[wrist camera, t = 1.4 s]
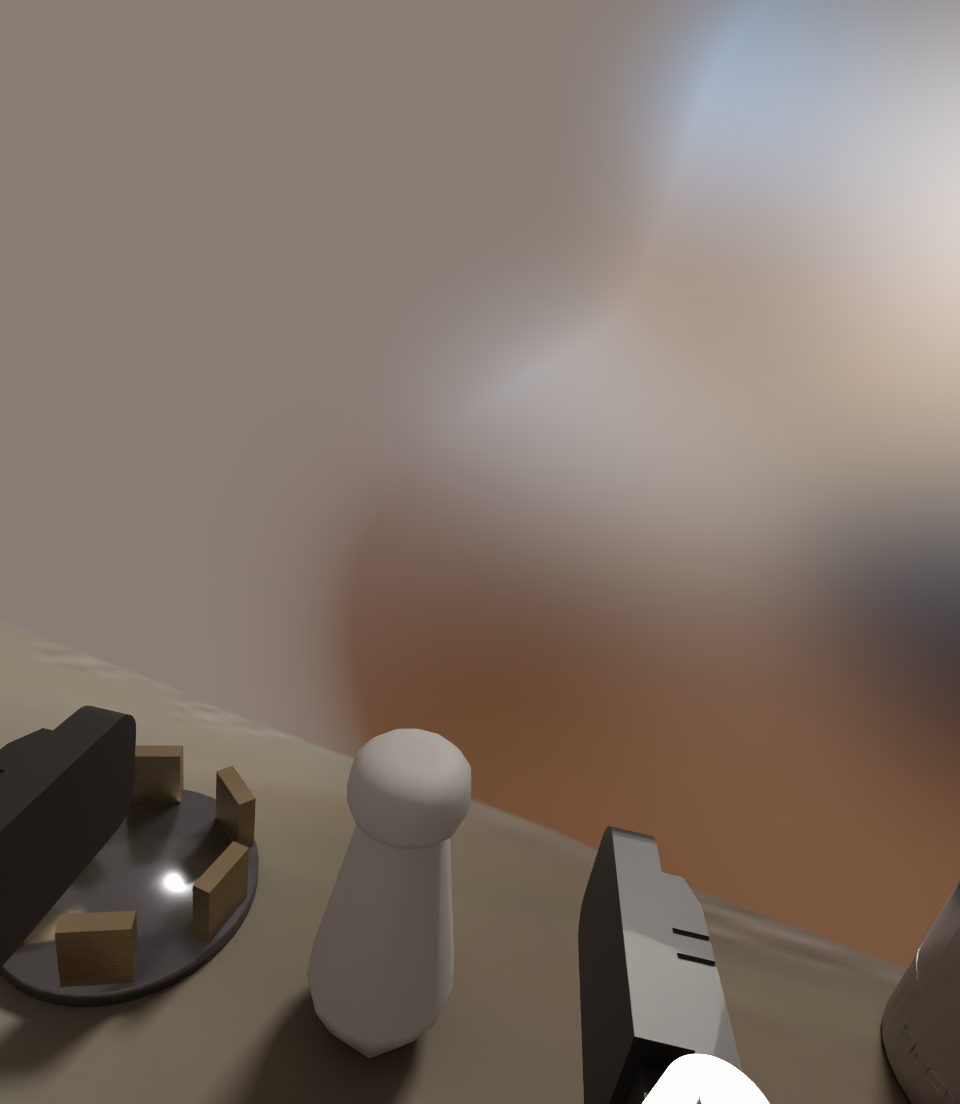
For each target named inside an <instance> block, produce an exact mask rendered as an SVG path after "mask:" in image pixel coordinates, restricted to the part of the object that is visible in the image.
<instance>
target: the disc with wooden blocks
mask: <svg viewBox="0 0 960 1104" xmlns="http://www.w3.org/2000/svg"><path fill="white" fill-rule="evenodd" d="M255 800H256V798H255V797H254V796H253V794H252V793H251V791H250V790H249V788H248V787H247V786H246V784H245V783H244V781H243V780H242V778H241V777H240V776H239V774H238V773H237V771H236V770H235V768H234V767H233V766H230V767H228V768H225V769H222V770H219V771H217V780H216V799H214V798H212V797H209V796H206V795H203V794H200V793H197V792H192V791H188V790H183V746H135V772H134V793H133V798H132V802H131V805H130V808H129V810H128V813H127V815H126V817H125V819H124V821H123V823H122V824H121V826H120V827H119V829H118V830H117V831H116V832H115V834H114V835H113V836H112V837H111V838H110V839H109V841H108V842H107V843H106V844H105V845H104V847H103V848H102V849H101V850H100V851H99V852H98V854H97V855H96V856H95V857H94V858H93V860H92V861H91V862H90V863H89V864H88V866H87V867H86V868H85V869H84V870H83V871H82V873H81V874H80V875H79V876H78V877H77V879H76V880H75V881H74V882H73V883H72V885H71V886H70V887H69V888H68V889H67V890H66V892H65V893H64V894H63V895H62V896H61V898H60V899H59V900H58V901H57V902H56V904H55V905H54V906H53V907H52V908H51V909H50V911H49V912H48V913H47V914H46V915H45V917H44V918H43V919H42V920H41V921H40V922H39V924H38V925H37V926H36V927H35V928H34V930H33V931H32V932H31V933H30V934H29V936H28V937H27V938H26V939H25V940H24V941H23V943H22V944H21V945H20V946H19V947H18V949H17V950H16V951H15V952H14V953H13V955H12V956H11V957H10V958H9V959H8V960H7V962H6V963H5V964H4V965H3V966H2V968H1V969H0V973H1V975H3V976H4V977H5V978H6V979H7V980H8V981H9V982H10V983H11V984H12V985H13V986H15V987H16V988H18V989H19V990H21V991H22V992H24V993H26V994H28V995H30V996H33V997H35V998H37V999H39V1000H43V1001H47V1002H51V1003H55V1004H60V1005H69V1006H101V1005H108V1004H116V1003H121V1002H125V1001H129V1000H133V999H137V998H140V997H143V996H146V995H149V994H151V993H154V992H157V991H159V990H161V989H164V988H166V987H168V986H170V985H172V984H174V983H176V982H178V981H180V980H181V979H183V978H185V977H186V976H188V975H190V974H191V973H193V972H194V971H196V970H197V969H199V968H200V967H201V966H203V965H204V964H205V963H207V962H208V961H209V960H210V959H211V958H213V957H214V956H215V955H216V954H217V953H218V952H219V951H220V950H221V949H222V948H223V947H224V946H225V945H226V944H227V943H228V942H229V941H230V939H231V938H232V937H233V936H234V935H235V933H236V932H237V930H238V929H239V928H240V926H241V925H242V923H243V922H244V920H245V918H246V916H247V914H248V912H249V910H250V908H251V905H252V902H253V900H254V897H255V893H256V888H257V883H258V851H257V845H256V842H255V839H254V823H255Z"/></svg>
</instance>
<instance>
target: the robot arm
mask: <svg viewBox="0 0 960 1104" xmlns="http://www.w3.org/2000/svg"><path fill="white" fill-rule="evenodd" d="M135 743H136V723H135V719H134V718H133V716H131V715H128V714H123V713H119V712H115V711H110V710H106V709H102V708H97V707H93V706H84V707H81V708H80V709H79V710H77V711H76V712H75V713H74V714H72V715H71V716H70V717H69V718H68V719H66V720H65V721H64V722H63V723H62V724H60V725H59V726H58V727H57V728H56V729H54V730H49V729H44V728H42V729H40V730H38V731H35V732H33V733H31V734H29V735H26V736H24V737H22V738H19V739H17V740H15V741H13V742H10V743H8V744H7V745H5V746H4V747H3V748H2V749H0V969H1V968H2V966H3V965H4V964H5V963H6V962H7V960H8V959H9V958H10V957H11V956H12V955H13V953H14V952H15V951H16V950H17V949H18V947H19V946H20V945H21V944H22V943H23V941H24V940H25V939H26V938H27V937H28V936H29V934H30V933H31V932H32V931H33V930H34V928H35V927H36V926H37V925H38V924H39V922H40V921H41V920H42V919H43V918H44V917H45V915H46V914H47V913H48V912H49V911H50V909H51V908H52V907H53V906H54V905H55V904H56V902H57V901H58V900H59V899H60V898H61V896H62V895H63V894H64V893H65V892H66V890H67V889H68V888H69V887H70V886H71V885H72V883H73V882H74V881H75V880H76V879H77V877H78V876H79V875H80V874H81V873H82V871H83V870H84V869H85V868H86V867H87V866H88V864H89V863H90V862H91V861H92V860H93V858H94V857H95V856H96V855H97V854H98V852H99V851H100V850H101V849H102V848H103V847H104V845H105V844H106V843H107V842H108V841H109V839H110V838H111V837H112V836H113V835H114V834H115V832H116V831H117V830H118V829H119V827H120V826H121V824H122V823H123V821H124V819H125V817H126V815H127V813H128V810H129V808H130V805H131V802H132V798H133V793H134V772H135ZM578 945H579V972H580V1000H581V1027H582V1055H583V1082H584V1104H769V1102H768V1101H767V1099H766V1098H765V1096H764V1095H763V1094H762V1092H761V1091H760V1090H759V1089H758V1088H757V1086H756V1085H755V1084H754V1083H753V1082H752V1081H751V1080H750V1079H749V1078H748V1077H747V1076H746V1075H744V1074H743V1071H742V1067H741V1064H740V1060H739V1056H738V1052H737V1048H736V1044H735V1039H734V1035H733V1031H732V1027H731V1023H730V1019H729V1015H728V1011H727V1007H726V1003H725V999H724V995H723V991H722V987H721V982H720V978H719V974H718V970H717V968H715V958H714V954H713V950H712V946H711V942H709V934H708V930H707V925H706V921H705V917H704V913H703V909H702V906H701V904H700V903H699V901H698V900H697V898H696V897H695V895H694V894H693V892H692V891H691V889H690V888H689V886H688V885H687V883H686V882H685V880H684V879H683V877H679V876H675V875H671V874H667V873H662V871H661V866H660V861H659V855H658V850H657V845H656V841H655V838H653V836H650V835H645V834H641V833H637V832H633V831H628V830H624V829H619V828H615V827H611V826H608V827H607V828H606V830H605V832H604V834H603V837H602V840H601V844H600V847H599V850H598V853H597V856H596V859H595V862H594V866H593V869H592V872H591V875H590V878H589V882H588V885H587V888H586V891H585V894H584V898H583V902H582V907H581V913H580V920H579V931H578ZM882 1037H883V1041H884V1045H885V1049H886V1053H887V1057H888V1060H889V1062H890V1065H891V1067H892V1069H893V1071H894V1074H895V1076H896V1078H897V1080H898V1082H899V1084H900V1086H901V1087H902V1089H903V1091H904V1092H905V1094H906V1096H907V1097H908V1099H909V1100H910V1102H911V1104H960V881H959V882H958V884H957V885H956V887H955V889H954V891H953V892H952V894H951V896H950V897H949V899H948V901H947V903H946V904H945V906H944V908H943V909H942V911H941V913H940V915H939V916H938V918H937V919H936V921H935V923H934V925H933V926H932V928H931V930H930V931H929V933H928V935H927V937H926V938H925V940H924V942H923V943H922V945H921V946H920V948H919V949H918V951H917V953H916V955H915V956H914V958H913V960H912V961H911V963H910V965H909V967H908V968H907V970H906V972H905V973H904V975H903V977H902V979H901V980H900V982H899V984H898V985H897V987H896V989H895V990H894V992H893V994H892V996H891V997H890V999H889V1001H888V1002H887V1004H886V1007H885V1011H884V1014H883V1018H882Z"/></svg>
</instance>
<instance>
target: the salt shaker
mask: <svg viewBox="0 0 960 1104" xmlns="http://www.w3.org/2000/svg"><path fill="white" fill-rule="evenodd" d="M470 798H471V767H470V765H469V764H468V762H467V760H466V759H465V757H464V756H463V754H462V753H461V751H460V750H459V749H458V748H457V747H456V746H455V745H453V744H452V743H450V742H449V741H447V740H446V739H445V738H443V737H442V736H440V735H439V734H435V733H432V732H428V731H424V730H421V729H396V730H393V731H390V732H387V733H385V734H382V735H379V736H377V737H375V738H372V739H371V740H370V741H369V742H367V743H366V744H365V745H364V746H363V747H362V748H361V749H360V750H359V751H358V752H356V755H355V758H354V761H353V764H352V767H351V772H350V776H349V781H348V785H347V801H348V804H349V807H350V810H351V812H352V815H353V818H354V820H355V823H356V827H355V830H354V832H353V835H352V838H351V841H350V843H349V846H348V849H347V852H346V855H345V857H344V860H343V863H342V866H341V868H340V871H339V874H338V877H337V880H336V882H335V885H334V888H333V891H332V893H331V896H330V899H329V902H328V905H327V907H326V910H325V913H324V916H323V918H322V921H321V924H320V927H319V930H318V932H317V935H316V938H315V941H314V944H313V948H312V953H311V957H310V962H309V966H308V971H307V976H308V982H309V987H310V991H311V995H312V999H313V1004H314V1008H315V1012H316V1014H317V1016H318V1017H319V1018H320V1020H321V1021H322V1022H323V1024H324V1025H325V1026H326V1028H327V1029H328V1030H329V1032H330V1033H331V1034H332V1035H334V1036H335V1037H337V1038H338V1039H340V1040H342V1041H343V1042H345V1043H346V1044H348V1045H349V1046H351V1047H352V1048H354V1049H355V1050H357V1051H358V1052H360V1053H361V1054H363V1055H364V1056H366V1057H367V1058H372V1057H375V1056H377V1055H380V1054H383V1053H385V1052H388V1051H391V1050H393V1049H396V1048H398V1047H401V1046H404V1045H406V1044H409V1043H412V1042H414V1041H415V1040H416V1039H417V1038H418V1037H420V1036H421V1035H422V1034H423V1033H424V1032H426V1031H427V1030H428V1029H429V1028H431V1027H432V1026H433V1025H434V1023H435V1021H436V1019H437V1017H438V1016H439V1014H440V1012H441V1010H442V1008H443V1006H444V1005H445V1003H446V1001H447V999H448V997H449V995H450V993H451V991H452V985H453V964H454V951H453V920H452V888H451V857H450V838H451V836H452V835H453V833H454V832H455V831H456V829H457V828H458V826H459V825H460V824H461V822H462V821H463V819H464V818H465V816H466V815H467V812H468V808H469V804H470Z"/></svg>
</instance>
